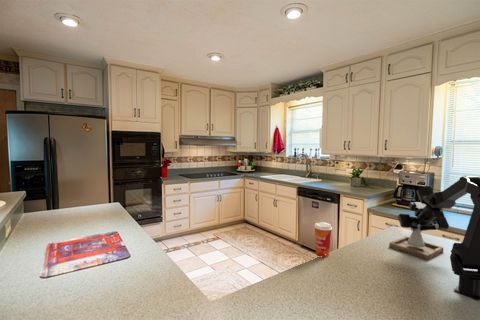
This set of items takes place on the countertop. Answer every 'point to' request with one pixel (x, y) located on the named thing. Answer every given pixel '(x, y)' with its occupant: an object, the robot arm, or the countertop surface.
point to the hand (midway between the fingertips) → (415, 229)
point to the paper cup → (322, 238)
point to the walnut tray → (416, 248)
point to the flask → (416, 238)
